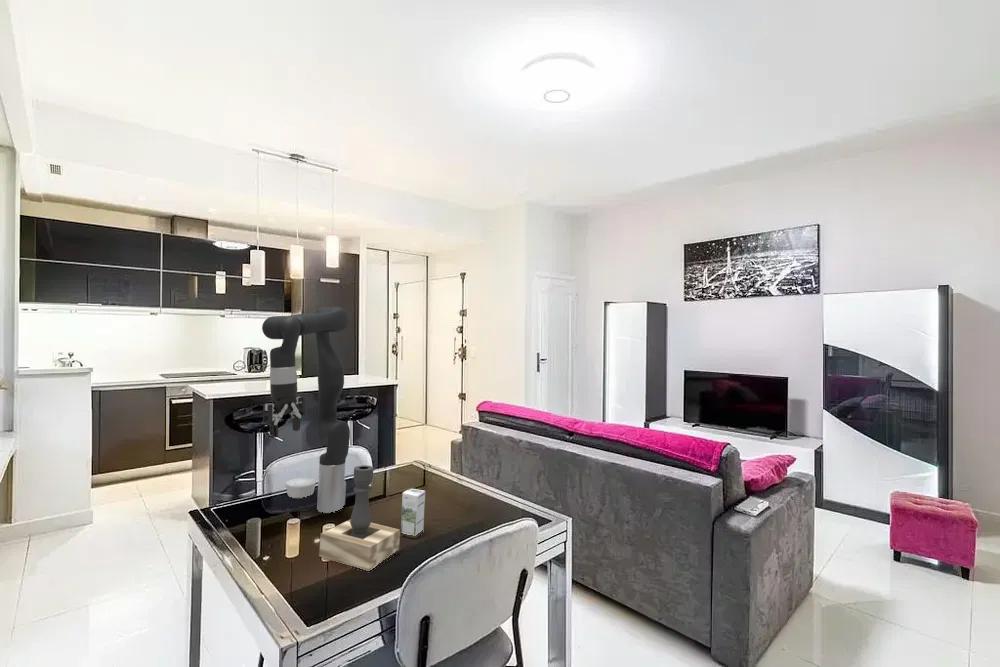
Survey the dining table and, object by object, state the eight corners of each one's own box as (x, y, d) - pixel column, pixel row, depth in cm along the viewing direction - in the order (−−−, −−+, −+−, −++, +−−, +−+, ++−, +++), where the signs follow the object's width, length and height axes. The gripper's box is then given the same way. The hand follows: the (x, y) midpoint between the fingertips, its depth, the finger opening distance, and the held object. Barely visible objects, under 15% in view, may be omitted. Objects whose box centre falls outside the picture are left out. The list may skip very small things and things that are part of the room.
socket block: (351, 540, 151) (353, 518, 151) (398, 552, 144) (400, 529, 144) (319, 557, 138) (320, 533, 139) (368, 572, 131) (370, 547, 131)
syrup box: (423, 533, 160) (426, 489, 160) (415, 539, 154) (417, 495, 154) (408, 530, 161) (411, 487, 162) (399, 536, 156) (402, 492, 156)
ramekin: (280, 494, 190) (280, 481, 190) (306, 488, 199) (307, 476, 199) (293, 501, 183) (294, 487, 183) (320, 495, 191) (321, 482, 191)
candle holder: (350, 547, 144) (355, 464, 144) (371, 547, 144) (376, 465, 145) (345, 556, 138) (350, 470, 138) (367, 556, 138) (372, 471, 139)
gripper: (274, 385, 137) (276, 440, 138) (310, 378, 150) (312, 429, 151) (255, 384, 140) (257, 438, 141) (292, 377, 153) (294, 427, 154)
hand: (285, 433), depth 146 cm, fingers open, 8 cm apart
